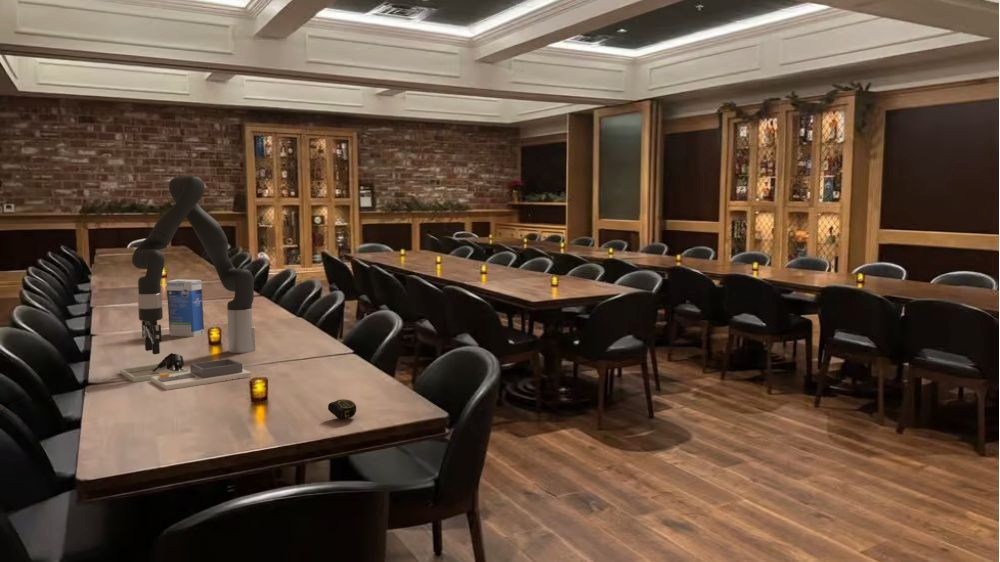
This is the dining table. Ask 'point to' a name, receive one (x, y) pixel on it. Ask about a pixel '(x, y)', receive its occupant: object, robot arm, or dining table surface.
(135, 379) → the pick tray
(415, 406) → the dining table surface
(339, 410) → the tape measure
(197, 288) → the string lights box
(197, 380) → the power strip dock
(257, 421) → the dining table surface
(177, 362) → the power plug
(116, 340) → the dining table surface
